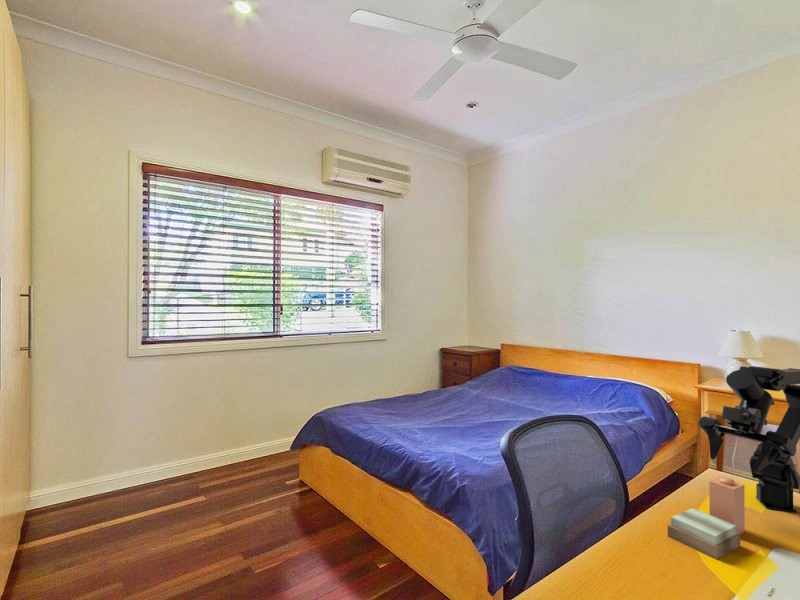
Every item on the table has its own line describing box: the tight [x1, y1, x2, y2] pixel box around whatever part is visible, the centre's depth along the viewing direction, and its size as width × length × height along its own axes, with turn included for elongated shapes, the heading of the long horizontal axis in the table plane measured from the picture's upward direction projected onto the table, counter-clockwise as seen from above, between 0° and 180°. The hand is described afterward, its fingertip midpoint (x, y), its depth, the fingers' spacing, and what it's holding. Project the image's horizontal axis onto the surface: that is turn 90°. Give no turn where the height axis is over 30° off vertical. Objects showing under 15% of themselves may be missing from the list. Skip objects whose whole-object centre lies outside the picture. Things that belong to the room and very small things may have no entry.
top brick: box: [709, 476, 746, 535], centre depth 100 cm, size 5×5×12 cm
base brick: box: [667, 507, 742, 560], centre depth 95 cm, size 10×10×4 cm
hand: (732, 465), depth 103 cm, fingers open, 9 cm apart
